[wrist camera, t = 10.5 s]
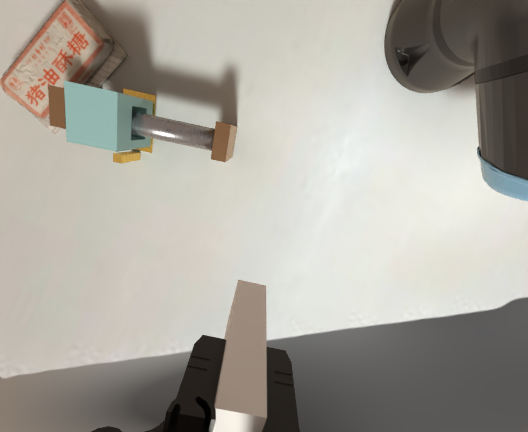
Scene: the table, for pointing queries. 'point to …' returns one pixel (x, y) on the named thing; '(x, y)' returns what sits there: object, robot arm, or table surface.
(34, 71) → the packaged product
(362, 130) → the table surface
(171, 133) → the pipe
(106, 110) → the collar
